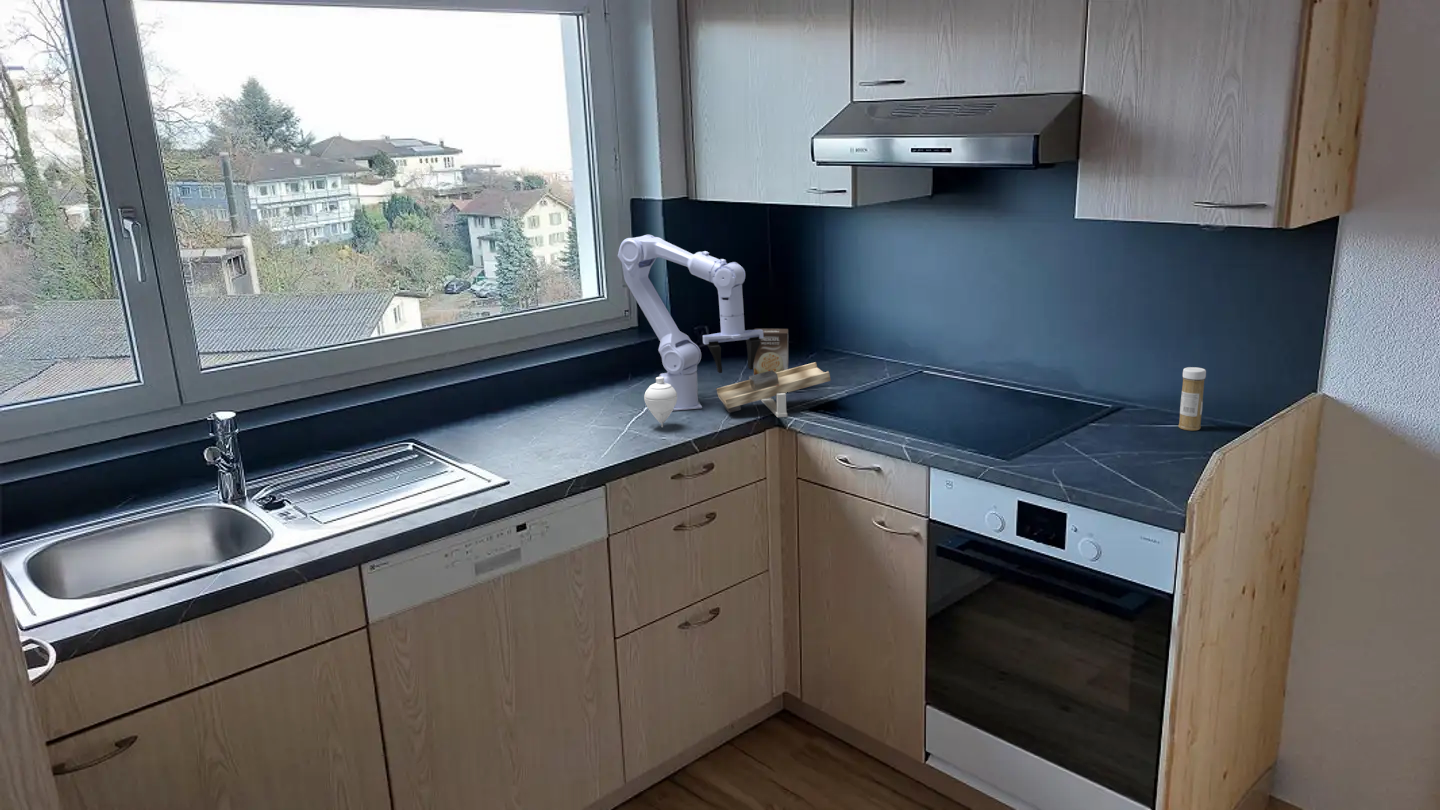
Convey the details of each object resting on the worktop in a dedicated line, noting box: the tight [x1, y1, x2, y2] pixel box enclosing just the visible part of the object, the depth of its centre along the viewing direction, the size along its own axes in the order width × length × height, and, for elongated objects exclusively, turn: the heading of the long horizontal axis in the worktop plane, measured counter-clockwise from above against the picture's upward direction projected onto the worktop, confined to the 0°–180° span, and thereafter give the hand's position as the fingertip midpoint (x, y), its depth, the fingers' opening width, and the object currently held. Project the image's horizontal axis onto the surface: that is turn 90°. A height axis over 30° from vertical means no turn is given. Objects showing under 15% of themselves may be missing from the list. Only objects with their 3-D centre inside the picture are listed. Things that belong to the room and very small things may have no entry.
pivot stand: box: [760, 393, 788, 418], centre depth 248 cm, size 2×16×6 cm, turn 12°
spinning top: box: [643, 376, 677, 428], centre depth 235 cm, size 8×8×12 cm
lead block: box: [748, 370, 779, 391], centre depth 247 cm, size 6×5×3 cm
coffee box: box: [753, 328, 789, 375], centre depth 265 cm, size 9×6×16 cm
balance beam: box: [716, 361, 832, 413], centre depth 248 cm, size 26×13×4 cm, turn 101°
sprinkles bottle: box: [1178, 366, 1207, 431], centre depth 221 cm, size 5×5×13 cm
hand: (735, 370), depth 244 cm, fingers open, 7 cm apart
